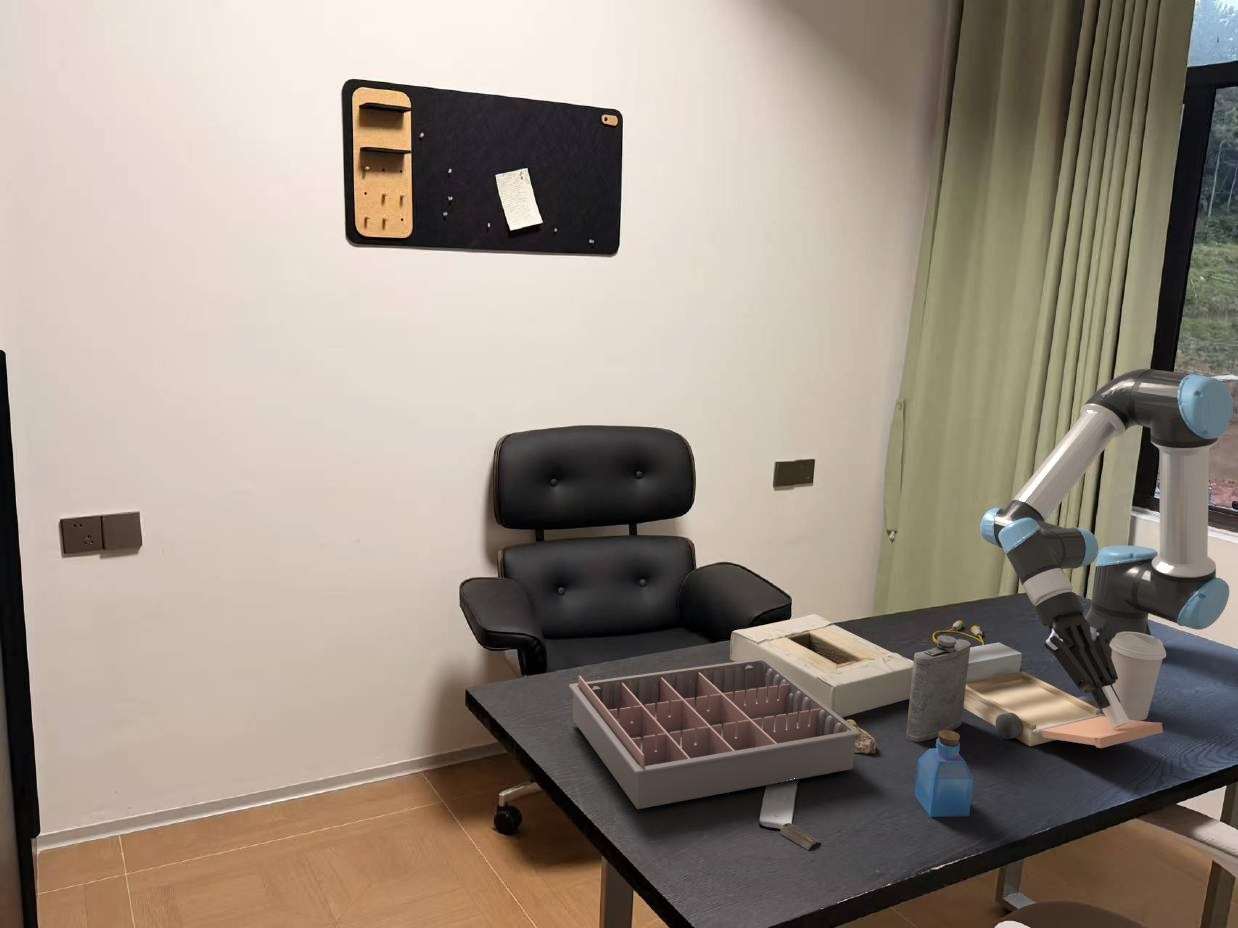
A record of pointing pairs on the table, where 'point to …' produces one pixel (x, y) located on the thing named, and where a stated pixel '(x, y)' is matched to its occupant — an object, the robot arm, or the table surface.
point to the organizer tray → (709, 730)
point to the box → (828, 662)
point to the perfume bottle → (944, 778)
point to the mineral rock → (863, 740)
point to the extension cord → (957, 626)
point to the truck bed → (1017, 696)
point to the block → (799, 836)
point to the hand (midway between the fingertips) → (1120, 724)
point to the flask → (938, 689)
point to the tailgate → (1099, 731)
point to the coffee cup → (1136, 671)
